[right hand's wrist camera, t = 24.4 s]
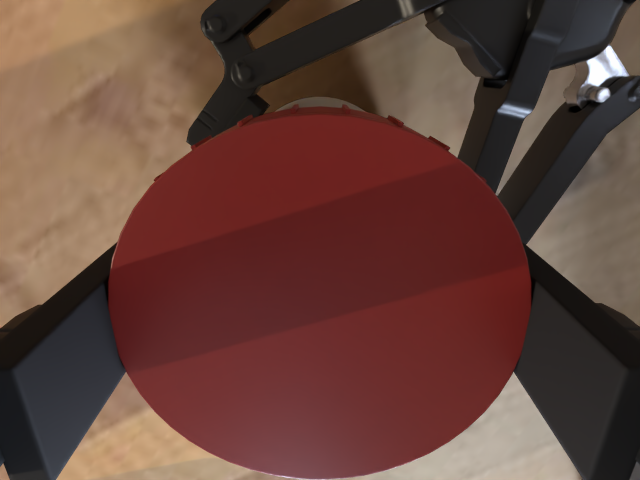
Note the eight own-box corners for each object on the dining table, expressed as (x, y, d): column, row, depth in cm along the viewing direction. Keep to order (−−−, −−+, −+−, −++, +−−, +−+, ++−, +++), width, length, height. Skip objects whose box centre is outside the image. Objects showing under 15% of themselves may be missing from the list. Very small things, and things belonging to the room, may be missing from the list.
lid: (108, 103, 10) (59, 109, 8) (532, 104, 10) (581, 111, 8) (166, 425, 14) (141, 480, 12) (472, 426, 14) (496, 482, 12)
